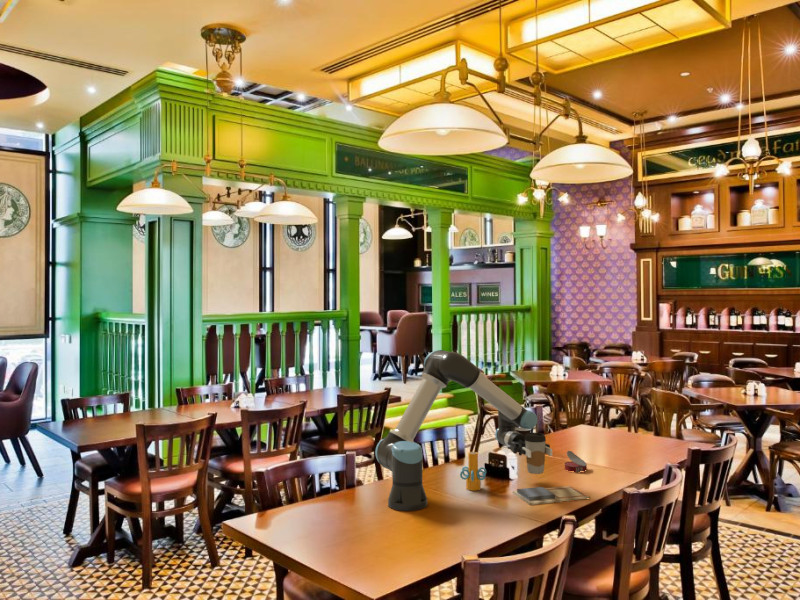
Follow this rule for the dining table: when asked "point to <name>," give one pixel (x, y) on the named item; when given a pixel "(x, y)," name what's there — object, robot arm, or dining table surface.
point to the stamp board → (558, 493)
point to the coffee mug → (523, 431)
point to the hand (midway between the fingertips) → (540, 453)
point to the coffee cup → (535, 452)
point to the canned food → (575, 463)
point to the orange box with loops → (473, 473)
